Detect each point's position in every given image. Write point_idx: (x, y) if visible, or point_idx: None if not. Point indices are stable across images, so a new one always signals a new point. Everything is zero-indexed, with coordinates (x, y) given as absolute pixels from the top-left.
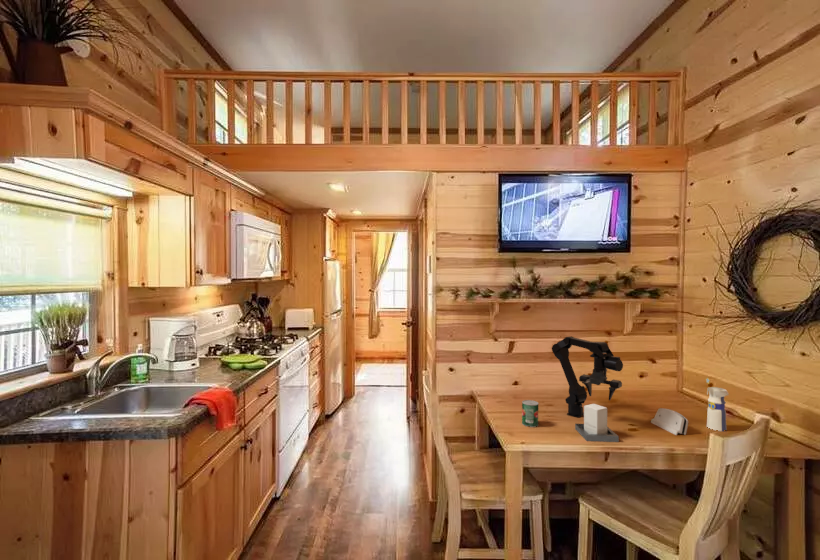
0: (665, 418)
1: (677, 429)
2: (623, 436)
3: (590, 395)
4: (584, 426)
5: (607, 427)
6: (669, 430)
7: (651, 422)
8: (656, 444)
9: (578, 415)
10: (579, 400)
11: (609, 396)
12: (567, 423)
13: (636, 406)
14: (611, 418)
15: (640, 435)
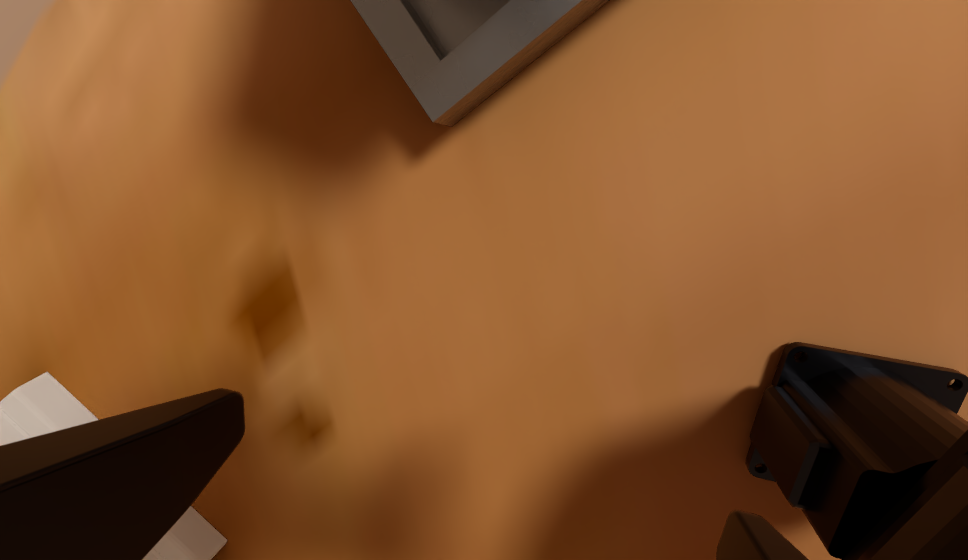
0: None
1: (10, 417)
2: (268, 59)
3: (739, 529)
4: None
5: (380, 22)
6: (82, 421)
7: (219, 538)
8: (42, 62)
9: (799, 382)
10: (948, 484)
11: (114, 430)
12: (918, 24)
13: None
14: (474, 495)
15: (183, 200)
